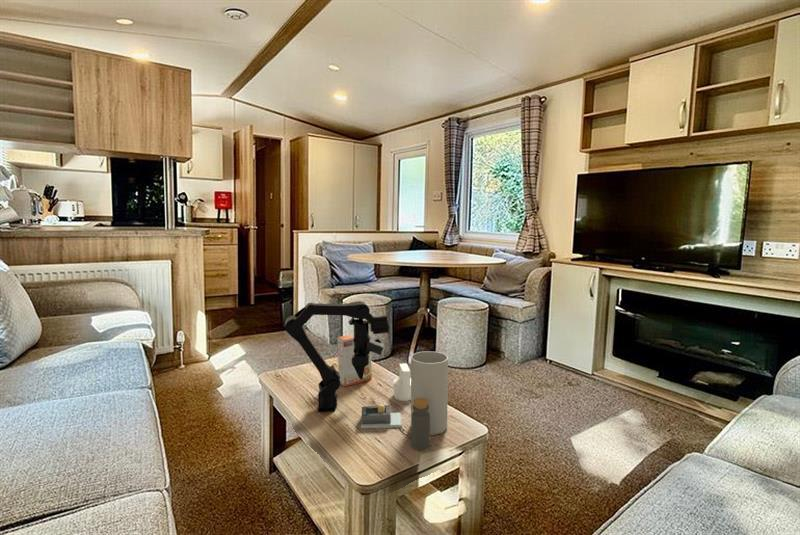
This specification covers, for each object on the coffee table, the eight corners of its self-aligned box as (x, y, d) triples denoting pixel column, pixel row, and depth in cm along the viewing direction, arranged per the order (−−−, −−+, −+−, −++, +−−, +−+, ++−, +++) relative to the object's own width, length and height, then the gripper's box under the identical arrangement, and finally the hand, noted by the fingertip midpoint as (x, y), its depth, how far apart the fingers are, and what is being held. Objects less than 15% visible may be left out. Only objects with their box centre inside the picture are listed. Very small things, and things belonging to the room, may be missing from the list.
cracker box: (365, 375, 195) (364, 331, 192) (372, 379, 190) (371, 334, 188) (337, 382, 187) (336, 336, 184) (344, 387, 182) (343, 339, 179)
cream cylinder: (417, 399, 170) (417, 370, 168) (395, 401, 168) (395, 371, 167) (413, 390, 179) (413, 362, 177) (392, 391, 177) (392, 364, 176)
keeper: (360, 428, 147) (360, 411, 146) (362, 416, 156) (361, 400, 155) (401, 427, 148) (401, 410, 147) (400, 415, 157) (400, 399, 156)
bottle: (410, 441, 139) (410, 397, 137) (428, 440, 139) (428, 396, 137) (412, 451, 133) (412, 405, 131) (431, 450, 133) (431, 404, 131)
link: (361, 424, 148) (361, 416, 147) (362, 414, 154) (361, 406, 154) (390, 422, 148) (390, 414, 148) (389, 412, 155) (389, 404, 155)
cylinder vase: (403, 424, 149) (403, 355, 146) (430, 415, 157) (431, 349, 154) (426, 440, 139) (427, 366, 136) (454, 428, 147) (455, 358, 144)
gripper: (382, 342, 153) (382, 383, 155) (382, 328, 172) (382, 365, 174) (351, 342, 153) (351, 384, 155) (354, 328, 171) (355, 366, 173)
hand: (361, 374), depth 164 cm, fingers open, 9 cm apart
